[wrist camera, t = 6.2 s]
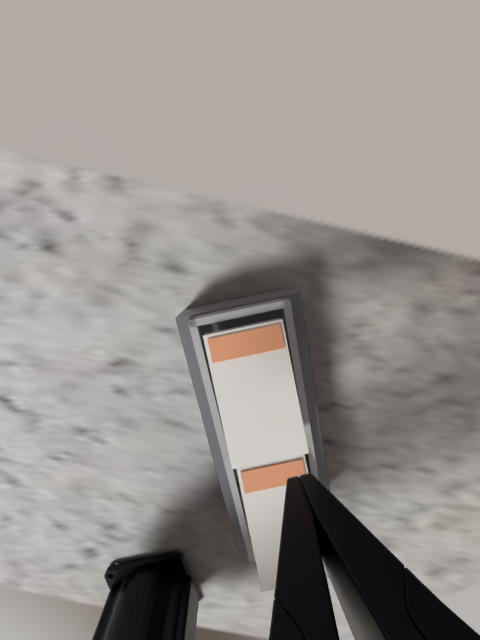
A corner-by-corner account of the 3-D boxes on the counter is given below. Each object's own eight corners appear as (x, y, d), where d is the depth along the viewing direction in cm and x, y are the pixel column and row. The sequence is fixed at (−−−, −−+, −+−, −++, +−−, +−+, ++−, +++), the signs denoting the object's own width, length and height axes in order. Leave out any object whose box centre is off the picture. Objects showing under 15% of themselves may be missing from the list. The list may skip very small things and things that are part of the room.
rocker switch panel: (236, 509, 20) (238, 566, 16) (184, 309, 16) (171, 321, 13) (319, 492, 20) (341, 544, 16) (287, 287, 16) (304, 294, 13)
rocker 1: (232, 457, 13) (232, 471, 12) (205, 333, 13) (202, 336, 12) (303, 442, 13) (309, 454, 12) (278, 318, 13) (283, 319, 12)
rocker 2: (260, 573, 15) (261, 593, 14) (236, 459, 15) (236, 469, 14) (324, 560, 15) (331, 579, 14) (300, 445, 15) (304, 455, 14)
